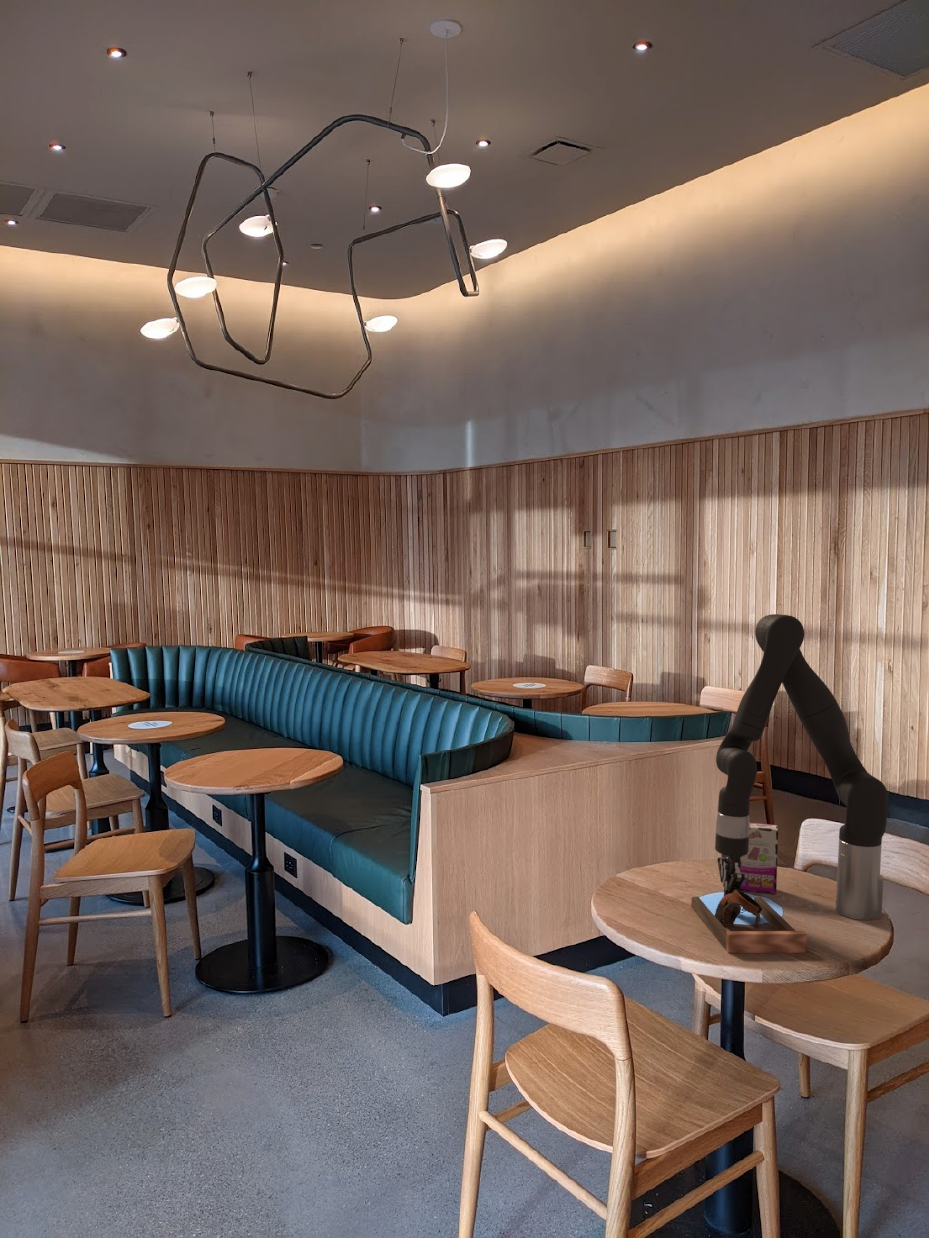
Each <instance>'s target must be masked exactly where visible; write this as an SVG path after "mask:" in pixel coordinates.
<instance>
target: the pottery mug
mask: <svg viewBox="0 0 929 1238" xmlns="http://www.w3.org/2000/svg"><path fill="white" fill-rule="evenodd" d="M727 903H728V904H727ZM741 910H744V911H746V912H748V913H750V914H752V915H753V916H755V921H754V923H753V925H754V927H755V928H757V927H758V926H759V924H760V921H761V914H760V912H761V911H762V907H761V906H760V905H759V904H758V903H757V902H756V901H755V900H754V898H752V896H750V895H748V894H747V893H745V891H740V890H737V889H735V890H734V892H733V893H730V894H727V895H725V896H724V895H723V897H722V898H721V899H720V900H719V902H718V904H717V906H716V908H715V912H714V914H713V915H714V916H715V917H716V918H717V919H718V921H719V922H720V923H721V924H722V925H723V922H724V924H725V925H727V926H734V923H735V921H736V919H737V918H738V917H739V915H740V914H741Z"/></svg>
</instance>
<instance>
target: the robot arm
mask: <svg viewBox="0 0 929 1238" xmlns="http://www.w3.org/2000/svg"><path fill="white" fill-rule="evenodd" d="M755 626H756V627H755V630H754V631H755V635H754V636H755V640H756V643H757V644H758V646H759V648H760V650H761V651H762V652H763V655H762V658H761V661H760V664H759V667H758V670H757V671H756V674H755V675H754V677H753V679H752V681H751V682H750V684H749V685H748V687H747V689H746V690H745V692H744V693H743V695H742V698H741V700H740V702H739V705H738V707H737V710H736V713H735V717H734V720H733V722H732V725H731V726H730V729H729V730H728V732H726V735H725V736H724V738H723V740H722V741H721V743H720V745H719V747H718V749H717V752H716V755H715V757H716V758H715V763H716V767H717V769H718V770H719V771H720V772H721V773H723V774H724V775H726V776H727V780H726V786H723V787H722V788H721V789H720V790H719V793H718V805H717V817H716V823H715V845H714V849H715V851H716V852H717V853H719V854H720V855H721V857H717V865H718V866H717V867H718V872H719V877H720V878H719V879H720V882H721V883H722V887H723V897H724V896H725V895H727V894H730V893H733V892H734V890H735V889H737V890H739V889H740V887H741V885H742V883H743V881H744V878H745V875H744V874H741V873H740V870H741V869H742V862H741V859H740V858H741V857H742V856H744V855H746V854H748V849H749V830H750V823H751V822H750V806H751V803H750V801H751V800H750V798H751V795H752V791H753V789H754V786H755V782H756V779H757V778H756V777H757V775H758V774H757V773H758V764H757V760H756V758H755V756H754V755H753V753H751V752H750V751H748V750H749V748H750V747H751V745H752V743H753V742H758V741H760V740H761V738H762V736H763V734H764V731H765V730H766V725H767V723H768V721H769V716H770V714H771V710H772V709H773V705H774V702H775V700H776V697H777V695H778V692H779V690H780V688H781V685H782V686H783V687H784V690H785V692H786V694H787V696H788V699H789V700H790V703H791V704H792V706H793V709H794V710H795V713H796V715H797V717H798V719H799V721H800V723H801V724H802V726H803V729H804V730H805V732H806V733H807V735H808V737H809V739H810V740H811V743H813V745H814V746H815V749H816V750H817V752H818V754H819V755H820V757H821V758H822V760H823V761H824V763H825V767H826V768H827V771H828V773H829V776H830V778H831V781H832V782H833V786H834V789H835V791H836V793H837V795H838V798H839V799H840V802H842V804H844V805H845V806H846V812H845V813H846V814H845V822H844V824H843V825H841V826H840V827H839V830H838V831H839V833H838V834H839V835H838V855H837V875H836V893H835V911H836V912H837V914H840V915H842V916H843V917H845V918H846V917H847V918H850V919H854V920H862V921H864V920H866V921H867V920H868V921H869V920H875V919H876V918H882V916H883V899H884V897H883V895H884V879H885V878H884V876H883V875H881V864H882V863H881V862H882V859H881V858H882V843H883V842H882V841H883V836H884V835H885V832H886V830H887V829H886V828H887V818H888V809H889V808H888V807H889V795H888V794H889V793H888V791H887V787H886V785H885V784H884V783H883V782H882V781H881V780H880V779H878V778H877V777H875V776H874V775H872V774H871V773H869V772H868V771H867V769H866V768H865V767H864V765H863V763H862V762H861V761H860V758H859V757H858V756H857V754H856V752H855V750H854V748H853V744H852V742H851V736H850V732H849V727H848V724H847V720H846V718H845V715H844V713H843V711H842V709H841V707H840V705H839V703H838V701H837V699H836V698H835V696H834V694H833V693H832V691H831V689H830V688H829V687H828V685H826V683H825V682H824V681H823V680H822V679H821V677H820V675H818V674H817V673H816V672H815V671H814V669H812V667H811V666H810V664H809V663H808V661H807V660H806V658H805V657H804V655H803V652H802V651H801V648H802V647H801V646H802V645H803V643H804V640H805V629H804V626H803V624H802V623H801V621H800V620H799V619H797V617H795V616H793V615H790V614H789V615H788V614H779V613H778V614H774V613H773V614H768V615H764V616H763V617H762V618H760V619H759V620H758V622H757V624H756V625H755ZM727 904H728V903H727Z"/></svg>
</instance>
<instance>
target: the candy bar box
mask: <svg viewBox="0 0 929 1238" xmlns="http://www.w3.org/2000/svg"><path fill="white" fill-rule="evenodd" d="M778 847H779V827H778V824H768V823H767V824H766V823H757V822H755V823H754V822H750V830H749V849H748V854H746V855H744V856H742V857H741V858H740V859H741V862H742V869H741V870H740V873H741V874H744V875H745V878H744V881H743V883H742V885H741V887H740V889H739V890H740V891H742V892H750V893H759V894H760V893H761V894H769V895H776V894H777V883H778V880H777V879H778V850H779V849H778Z"/></svg>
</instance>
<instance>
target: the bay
mask: <svg viewBox="0 0 929 1238" xmlns="http://www.w3.org/2000/svg"><path fill="white" fill-rule="evenodd" d="M753 899H754V900H755V901H756V902H757V903H758V904H759V905H760V906H761V907H762V911H761V912H760V916H762V917H763V919H765V920H766V921H767V922H768V924H770V925H771V927H773V928H774V929H775V930H763V931H762V930H758V931H757V930H755V931H754V930H753V931H751V930H746V931H743V930H741V931H740V930H739V931H736V930H735V931H734V930H733V931H732V930H731V931H729V930H727V929H726V928H725V927H724V925H723V923H722V924H721V923H720V922H719V921H718V919H717V918H716V917H715V916H714V915H715V914H713V912H712V911H711V909H709V908H708V906H707V905H706V904H705V903H704V902H703V900H702V899H701V898H700V897H699V896H691V902H690V903H691V904H690V905H691V909H692V908H693V909H694V910H693V909H692V910H693V912H695V914H696V913H697V914H696V915H697V916H698V918H701V919H702V920H701V919H700V920H701V921H702V923H705V924H704V925H705V926H706V927H707V929H708V928H709V929H708V930H709V931H710V932H711V933H712V935H713V936H714V937H715V938H716V940H717V941H718V942H719V944H720V945H721V947H723V949H724V950H725V951H726V952H727V954H763V953H764V954H765V953H767V954H769V953H770V954H771V953H773V954H775V953H776V954H777V953H779V954H781V953H783V954H785V953H788V954H789V953H791V954H792V953H793V954H795V953H797V954H799V953H802V954H803V953H804V954H805V953H807V951H806V950H807V933H806V932H805V931H804V930H796V929H795V928H794V927H792V925H790V924H789V923H788V922H787V920H785V919H784V918H783V917H782V915H780V914H779V913H778V912H777V911H776V910H775V909H774V908H773V907H772V906H771V905H770V904H769V903H768V902H767V900H765V899H764V898H762V896H753Z"/></svg>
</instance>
